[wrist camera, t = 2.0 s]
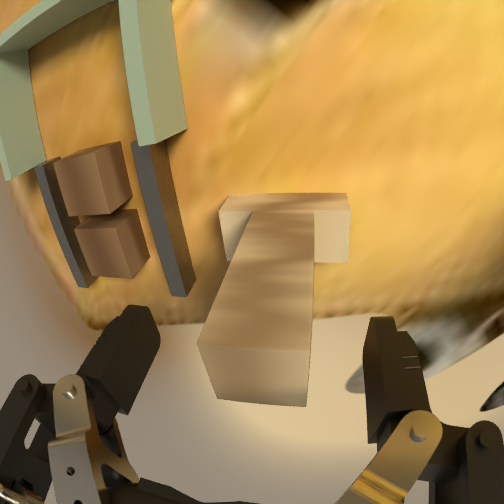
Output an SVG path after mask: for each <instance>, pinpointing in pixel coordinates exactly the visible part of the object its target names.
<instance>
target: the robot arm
mask: <svg viewBox="0 0 504 504" xmlns="http://www.w3.org/2000/svg"><path fill="white" fill-rule="evenodd" d="M159 347H160V334H159V331H158V329H157V326H156V324H155V321H154V319H153V316H152V314H151V311H150V309H149V308H148V307H147V306H138V305H128V306H127V307H126V308H125V309H124V311H123V313H122V314H121V316H120V317H119V316H117V317H116V318H115V319H114V320H112V321H111V322H110V323H109V324H108V325H107V326H106V328H105V329H104V331H103V332H102V334H101V337H99V338H98V340H97V341H96V345H94V346H93V348H92V349H91V351H90V352H89V354H88V356H87V357H86V359H85V361H84V362H83V364H82V365H81V367H80V369H79V370H78V372H77V373H76V374H70V375H66V376H64V377H62V378H61V379H60V380H59V381H58V382H57V383H56V384H42V383H41V382H40V381H39V380H38V379H37V377H35V376H34V375H32V374H28V375H25V376H23V377H21V378H20V379H19V380H18V381H17V382H16V384H15V385H14V387H13V389H12V391H11V393H10V394H9V396H8V398H7V399H6V401H5V403H4V405H3V407H2V408H1V410H0V504H44V501H45V499H46V496H47V492H48V490H49V487H50V485H51V482H52V480H53V486H54V491H55V496H56V501H57V504H257V503H249V502H242V501H237V502H219V503H218V502H216V503H203V502H199V501H197V500H195V499H193V498H191V497H189V496H187V495H185V494H183V493H181V492H179V491H178V490H176V489H174V488H172V487H170V486H167V485H163V484H160V483H156V482H153V481H150V480H147V479H144V478H140V480H139V478H138V476H137V474H136V472H135V470H134V469H133V467H132V466H131V464H130V463H129V461H128V458H127V455H126V452H125V449H124V446H123V442H122V439H121V435H120V431H119V428H118V423H117V421H116V419H115V416H116V414H117V412H119V413H123V414H125V415H128V414H129V412H130V410H131V407H132V405H133V403H134V401H135V398H136V396H137V394H138V392H139V390H140V388H141V385H142V383H143V381H144V379H145V377H146V375H147V372H148V370H149V368H150V366H151V364H152V362H153V360H154V358H155V356H156V354H157V352H158V350H159ZM363 371H364V382H365V395H366V409H367V410H366V411H367V431H368V444H371V443H377V454H376V455H375V457H374V458H373V459H372V461H371V462H370V463H369V464H368V466H367V467H366V468H365V469H364V471H363V472H362V473H361V474H360V475H359V477H358V478H357V479H356V480H355V481H354V482H353V483H352V485H351V486H350V487H349V488H348V489H347V491H346V492H344V494H343V495H342V496H341V497H340V498H339V499H338V500H337V501H336V502H335V503H334V504H404V499H405V497H406V495H407V493H408V492H409V491H410V489H411V488H412V486H413V485H414V483H415V482H416V480H422V481H429V504H504V444H503V439H502V434H501V431H500V429H499V428H498V427H497V426H496V424H494V423H493V422H490V421H479V422H477V423H475V424H474V425H473V426H472V427H471V428H464V427H457V426H451V425H446V424H444V423H442V422H441V421H440V420H439V419H438V418H437V417H436V416H435V415H434V414H432V411H431V409H430V406H429V401H428V395H427V390H426V386H425V381H424V377H423V372H422V368H421V364H420V360H419V358H418V352H417V348H416V344H415V342H414V340H413V339H412V338H411V336H410V335H409V334H408V333H407V331H398V332H397V329H396V325H395V321H394V318H393V317H392V316H385V317H371V318H370V322H369V326H368V330H367V335H366V339H365V343H364V347H363ZM34 418H35V419H36V420H37V421H38V422H40V423H41V424H40V426H39V428H38V430H37V432H36V434H35V437H34V439H33V441H32V443H31V445H30V447H29V449H26V448H25V445H24V439H25V437H26V435H27V433H28V431H29V428H30V427H31V424H32V422H33V420H34Z"/></svg>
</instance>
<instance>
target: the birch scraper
mask: <svg viewBox="0 0 504 504" xmlns="http://www.w3.org/2000/svg"><path fill="white" fill-rule="evenodd" d="M219 218H220V224H221V230H222V236H223V242H224V248H225V253H226V259H227V261H231V263H230V265H229V267H228V270H227V272H226V275H225V277H224V279H223V282H222V284H221V286H220V289H219V291H218V293H217V296H216V298H215V300H214V303H213V305H212V308H211V310H210V312H209V315H208V317H207V320H206V322H205V324H204V327H203V329H202V332H201V334H200V337H199V339H198V341H197V344H198V348H199V351H200V353H201V356H202V359H203V362H204V365H205V367H206V370H207V373H208V375H209V378H210V381H211V383H212V386H213V388H214V391H215V394H216V396H217V398H218V399H224V400H231V401H239V402H248V403H258V404H269V405H282V406H299V407H306V402H307V392H308V379H309V367H310V352H311V336H312V319H313V296H314V262H315V263H348V253H349V238H350V221H351V209H350V205H349V201H348V198H347V194H346V193H267V194H235V195H229V197H228V198H227V200H226V201H225V203H224V204H223V206H222V207H221V209H220V210H219Z"/></svg>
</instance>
